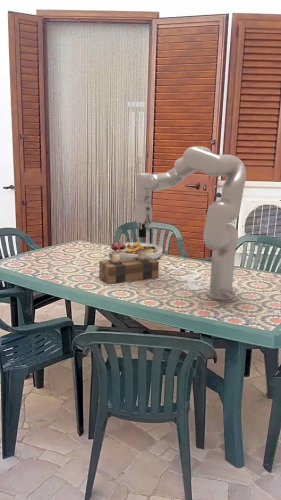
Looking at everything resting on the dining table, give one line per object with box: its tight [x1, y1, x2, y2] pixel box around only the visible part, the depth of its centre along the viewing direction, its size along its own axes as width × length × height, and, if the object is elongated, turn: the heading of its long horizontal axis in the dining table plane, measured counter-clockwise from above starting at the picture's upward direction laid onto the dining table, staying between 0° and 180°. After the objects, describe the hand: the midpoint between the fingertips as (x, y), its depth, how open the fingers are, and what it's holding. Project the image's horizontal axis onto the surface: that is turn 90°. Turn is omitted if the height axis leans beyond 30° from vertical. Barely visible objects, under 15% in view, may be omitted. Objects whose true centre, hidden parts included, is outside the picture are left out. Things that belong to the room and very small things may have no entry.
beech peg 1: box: [111, 251, 120, 265], centre depth 214 cm, size 4×4×8 cm
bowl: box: [109, 241, 163, 260], centre depth 259 cm, size 30×30×8 cm
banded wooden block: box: [98, 256, 160, 285], centre depth 218 cm, size 12×26×8 cm, turn 116°
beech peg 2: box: [138, 249, 147, 262], centre depth 220 cm, size 4×4×8 cm
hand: (142, 236), depth 218 cm, fingers closed
